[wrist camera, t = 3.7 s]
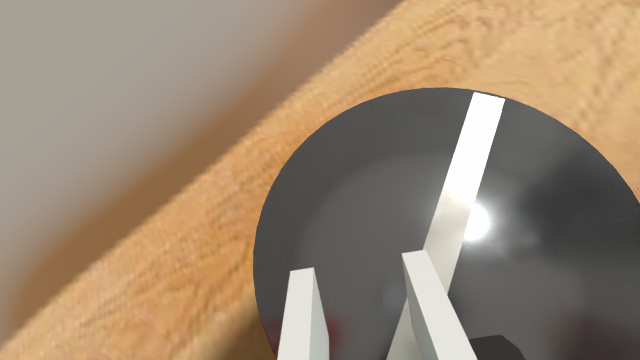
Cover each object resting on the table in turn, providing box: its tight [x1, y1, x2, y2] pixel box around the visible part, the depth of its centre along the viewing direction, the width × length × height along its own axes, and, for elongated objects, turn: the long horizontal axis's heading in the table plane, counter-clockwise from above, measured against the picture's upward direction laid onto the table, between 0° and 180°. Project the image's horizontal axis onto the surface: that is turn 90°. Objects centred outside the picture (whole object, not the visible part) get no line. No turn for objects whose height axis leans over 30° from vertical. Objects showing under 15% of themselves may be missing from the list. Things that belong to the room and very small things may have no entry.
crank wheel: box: [253, 88, 640, 360], centre depth 15 cm, size 16×16×18 cm
